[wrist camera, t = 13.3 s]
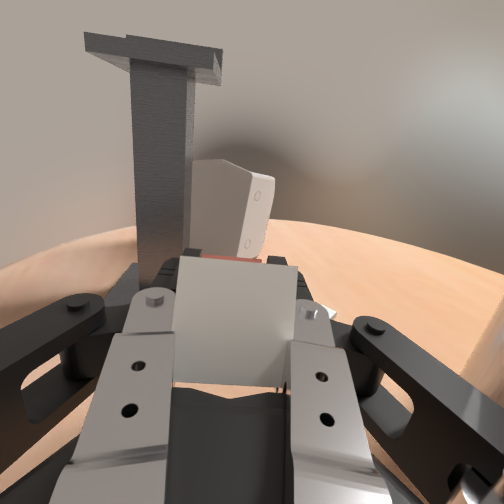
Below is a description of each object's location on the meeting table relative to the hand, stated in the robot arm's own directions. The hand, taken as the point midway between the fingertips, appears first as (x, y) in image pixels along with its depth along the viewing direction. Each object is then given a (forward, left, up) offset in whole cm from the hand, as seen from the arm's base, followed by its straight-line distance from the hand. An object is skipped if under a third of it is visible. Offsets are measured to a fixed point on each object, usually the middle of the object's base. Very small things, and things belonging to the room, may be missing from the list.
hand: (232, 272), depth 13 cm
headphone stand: (-6, -29, -20) cm, 35 cm away
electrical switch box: (-25, -43, -20) cm, 53 cm away
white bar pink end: (-1, -1, -4) cm, 5 cm away
